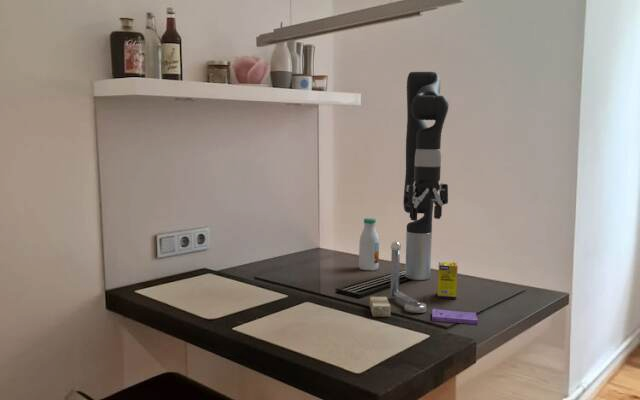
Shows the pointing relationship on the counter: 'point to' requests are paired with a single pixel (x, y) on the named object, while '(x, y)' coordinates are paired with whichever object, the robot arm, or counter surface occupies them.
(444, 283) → the supplement box
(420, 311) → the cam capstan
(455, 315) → the sponges
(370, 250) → the milk bottle
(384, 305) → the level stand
